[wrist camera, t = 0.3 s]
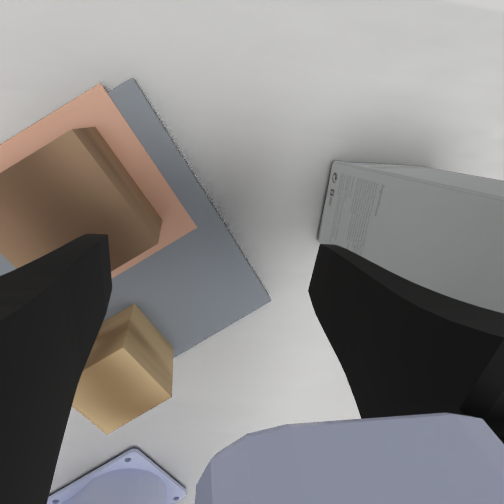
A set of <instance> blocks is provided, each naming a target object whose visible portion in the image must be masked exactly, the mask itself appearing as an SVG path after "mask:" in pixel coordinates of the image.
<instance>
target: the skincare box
mask: <svg viewBox="0 0 504 504" xmlns="http://www.w3.org/2000/svg"><path fill="white" fill-rule="evenodd" d="M318 240H319V243H320V244H332V245H338V246H341V247H343V248H346V249H348V250H350V251H352V252H354V253H356V254H358V255H360V256H362V257H364V258H365V259H367V260H369V261H371V262H373V263H375V264H377V265H379V266H381V267H383V268H384V269H386V270H388V271H390V272H392V273H394V274H396V275H399V276H401V277H403V278H405V279H407V280H409V281H411V282H413V283H416V284H418V285H420V286H423V287H425V288H428V289H430V290H433V291H435V292H438V293H440V294H443V295H446V296H448V297H451V298H454V299H457V300H460V301H463V302H466V303H469V304H473V305H476V306H479V307H482V308H486V309H489V310H493V311H496V312H500V313H504V181H502V180H496V179H491V178H485V177H479V176H473V175H467V174H461V173H455V172H449V171H443V170H437V169H432V168H426V167H419V166H408V165H393V164H376V163H349V162H342V161H334V162H333V164H332V169H331V174H330V179H329V186H328V191H327V196H326V200H325V206H324V210H323V214H322V220H321V225H320V230H319V235H318Z"/></svg>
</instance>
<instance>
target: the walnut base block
mask: <svg viewBox="0 0 504 504" xmlns="http://www.w3.org/2000/svg"><path fill="white" fill-rule="evenodd" d="M161 225H162V219H161V218H160V216H159V215H158V213H157V212H156V211H155V209H154V208H153V207H152V205H151V204H150V202H149V201H148V200H147V198H146V197H145V195H144V194H143V193H142V191H141V190H140V188H139V187H138V186H137V184H136V183H135V181H134V180H133V179H132V177H131V176H130V175H129V173H128V172H127V170H126V169H125V168H124V166H123V165H122V163H121V162H120V161H119V159H118V158H117V156H116V155H115V154H114V152H113V151H112V149H111V148H110V147H109V145H108V144H107V143H106V141H105V140H104V138H103V137H102V136H101V134H100V133H99V131H98V130H97V129H96V127H88V128H79V129H71V130H70V131H68V132H67V133H65V134H63V135H62V136H60V137H58V138H57V139H55V140H53V141H52V142H50V143H49V144H47V145H45V146H44V147H42V148H40V149H39V150H37V151H35V152H34V153H32V154H31V155H29V156H27V157H26V158H24V159H22V160H21V161H19V162H17V163H16V164H14V165H13V166H11V167H9V168H8V169H6V170H4V171H3V172H1V173H0V253H1V254H2V255H3V256H4V257H5V258H6V259H7V260H8V261H9V262H10V263H11V264H12V265H13V266H14V267H15V268H16V269H17V268H19V267H21V266H23V265H25V264H28V263H30V262H32V261H34V260H36V259H38V258H40V257H42V256H44V255H46V254H48V253H50V252H52V251H53V250H55V249H57V248H59V247H61V246H63V245H65V244H67V243H68V242H70V241H72V240H74V239H76V238H78V237H80V236H82V235H85V234H108V241H109V253H110V265H111V271H113V270H115V269H117V268H118V267H120V266H122V265H123V264H125V263H127V262H128V261H130V260H132V259H133V258H135V257H137V256H138V255H140V254H142V253H143V252H145V251H147V250H148V249H150V248H152V247H153V246H155V245H157V244H158V241H159V236H160V230H161Z"/></svg>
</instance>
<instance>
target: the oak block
mask: <svg viewBox="0 0 504 504" xmlns="http://www.w3.org/2000/svg"><path fill="white" fill-rule="evenodd" d="M172 373H173V347H172V346H171V345H170V343H169V342H168V341H167V340H166V339H165V338H164V337H163V335H162V334H161V333H160V332H159V331H158V330H157V329H156V328H155V326H154V325H153V324H152V323H151V322H150V321H149V320H148V318H147V317H146V316H145V315H144V314H143V313H142V312H141V311H140V309H139V308H138V307H137V306H136V305H135V304H132V305H131V306H129V307H127V308H126V309H124V310H122V311H120V312H119V313H117V314H115V315H114V316H112V317H110V318H109V319H107V320H105V321H104V322H103V323H102V326H101V328H100V330H99V333H98V335H97V338H96V340H95V343H94V345H93V348H92V350H91V352H90V355H89V357H88V360H87V362H86V365H85V367H84V369H83V372H82V375H81V377H80V380H79V383H78V386H77V389H76V393H75V396H74V400H73V403H72V407H73V408H75V409H76V410H77V411H78V412H80V413H81V414H82V415H83V416H85V417H86V418H87V419H88V420H89V421H91V422H92V423H93V424H94V425H96V426H97V427H98V428H99V429H101V430H102V431H103V432H104V433H105V434H109V433H111V432H112V431H114V430H116V429H117V428H119V427H121V426H123V425H124V424H126V423H128V422H129V421H131V420H133V419H135V418H136V417H138V416H140V415H141V414H143V413H145V412H147V411H148V410H150V409H152V408H154V407H155V406H157V405H159V404H160V403H162V402H164V401H166V400H167V399H169V398H171V397H172Z"/></svg>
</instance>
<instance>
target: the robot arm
mask: <svg viewBox="0 0 504 504" xmlns="http://www.w3.org/2000/svg"><path fill="white" fill-rule="evenodd" d="M111 292H112V277H111V265H110V253H109V241H108V234H85V235H82V236H80V237H78V238H76V239H74V240H72V241H70V242H68V243H67V244H65V245H63V246H61V247H59V248H57V249H55V250H53V251H52V252H50V253H48V254H46V255H44V256H42V257H40V258H38V259H36V260H34V261H32V262H30V263H28V264H25V265H23V266H21V267H19V268H17V269H15V270H13V271H11V272H8V273H6V274H4V275H1V276H0V504H174V503H176V502H178V501H179V500H181V499H183V498H184V497H185V496H186V489H185V488H184V487H182V486H181V485H180V484H179V483H178V482H176V481H175V480H174V479H173V478H172V477H170V476H169V475H168V474H167V473H166V472H164V471H163V470H162V469H161V468H160V467H158V466H157V465H156V464H155V463H154V462H152V461H151V460H150V459H149V458H148V457H146V456H145V455H144V454H143V453H142V452H140V451H139V450H138V449H130V450H129V451H127V452H125V453H123V454H122V455H120V456H118V457H116V458H115V459H113V460H111V461H110V462H108V463H106V464H104V465H103V466H101V467H99V468H98V469H96V470H94V471H92V472H91V473H89V474H87V475H85V476H84V477H82V478H80V479H79V480H77V481H75V482H73V483H72V484H70V485H68V486H66V487H65V488H63V489H61V490H60V491H58V492H56V493H54V494H53V495H51V496H49V492H50V488H51V484H52V480H53V476H54V472H55V467H56V463H57V459H58V455H59V451H60V448H61V444H62V440H63V436H64V432H65V429H66V425H67V421H68V417H69V414H70V410H71V407H72V403H73V400H74V396H75V393H76V389H77V386H78V383H79V380H80V377H81V375H82V372H83V369H84V367H85V365H86V362H87V360H88V357H89V355H90V352H91V350H92V348H93V345H94V343H95V340H96V338H97V335H98V333H99V330H100V328H101V326H102V323H103V321H104V318H105V315H106V313H107V309H108V305H109V301H110V296H111ZM308 292H309V295H310V298H311V302H312V305H313V308H314V311H315V313H316V316H317V318H318V320H319V322H320V324H321V326H322V328H323V330H324V332H325V334H326V336H327V338H328V340H329V342H330V344H331V346H332V347H333V349H334V351H335V353H336V355H337V357H338V359H339V361H340V363H341V365H342V368H343V370H344V372H345V374H346V377H347V379H348V382H349V385H350V387H351V390H352V393H353V395H354V398H355V401H356V404H357V407H358V410H359V413H360V416H361V418H362V419H353V420H339V421H326V422H313V423H299V424H286V425H282V426H278V427H274V428H269V429H265V430H261V431H257V432H253V433H249V434H246V435H245V436H243V437H242V438H240V439H238V440H237V441H235V442H234V443H232V444H231V445H229V446H227V447H226V448H224V449H223V450H221V451H220V452H218V453H217V454H216V455H215V456H214V457H213V458H212V459H211V460H210V462H209V463H208V465H207V467H206V469H205V471H204V472H203V474H202V476H201V478H200V480H199V481H198V483H197V485H196V495H195V504H504V313H500V312H496V311H493V310H489V309H486V308H482V307H479V306H476V305H473V304H469V303H466V302H463V301H460V300H457V299H454V298H451V297H448V296H446V295H443V294H440V293H438V292H435V291H433V290H430V289H428V288H425V287H423V286H420V285H418V284H416V283H413V282H411V281H409V280H407V279H405V278H403V277H401V276H399V275H396V274H394V273H392V272H390V271H388V270H386V269H384V268H383V267H381V266H379V265H377V264H375V263H373V262H371V261H369V260H367V259H365V258H364V257H362V256H360V255H358V254H356V253H354V252H352V251H350V250H348V249H346V248H343V247H341V246H338V245H332V244H320V246H319V250H318V254H317V258H316V262H315V266H314V270H313V274H312V278H311V282H310V286H309V290H308ZM48 496H49V497H48Z"/></svg>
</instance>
